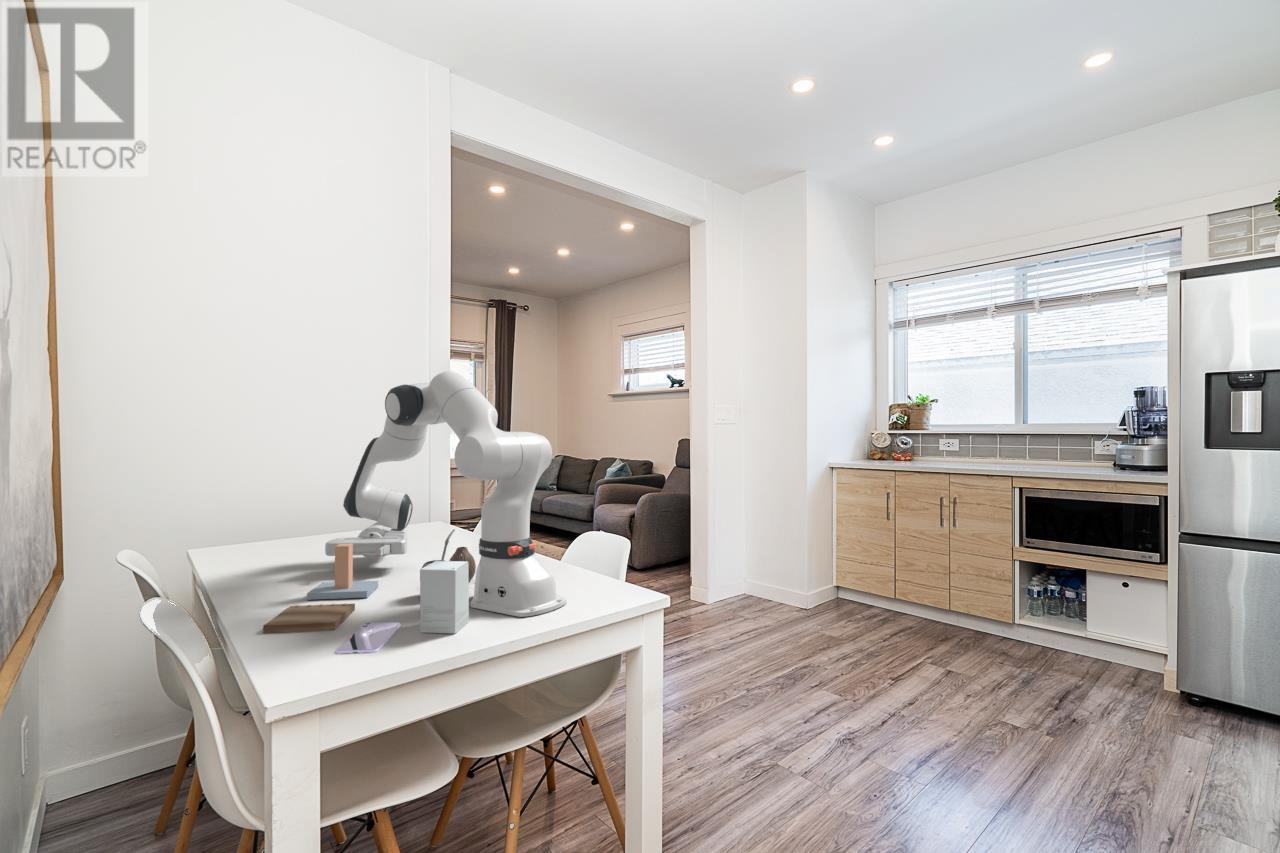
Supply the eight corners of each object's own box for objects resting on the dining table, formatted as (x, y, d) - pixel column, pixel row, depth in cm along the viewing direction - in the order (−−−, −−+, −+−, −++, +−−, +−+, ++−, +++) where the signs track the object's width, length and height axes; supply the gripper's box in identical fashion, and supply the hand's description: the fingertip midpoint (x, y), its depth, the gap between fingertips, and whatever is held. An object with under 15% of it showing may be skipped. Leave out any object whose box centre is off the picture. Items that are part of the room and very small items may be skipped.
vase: (481, 580, 152) (481, 546, 152) (460, 586, 146) (460, 551, 146) (463, 576, 155) (463, 543, 155) (441, 582, 150) (442, 548, 150)
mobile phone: (333, 650, 103) (363, 621, 118) (333, 656, 103) (363, 626, 118) (377, 649, 104) (402, 620, 119) (377, 654, 104) (402, 625, 119)
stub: (367, 597, 136) (367, 548, 136) (307, 599, 134) (307, 549, 134) (378, 586, 145) (378, 540, 145) (322, 588, 143) (322, 541, 143)
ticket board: (334, 629, 115) (334, 621, 115) (263, 633, 113) (263, 624, 113) (354, 610, 127) (354, 602, 127) (290, 612, 125) (290, 605, 125)
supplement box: (469, 621, 121) (470, 560, 121) (455, 634, 113) (455, 569, 113) (435, 620, 121) (435, 559, 121) (418, 633, 114) (418, 568, 114)
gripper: (335, 531, 162) (315, 541, 149) (412, 529, 166) (400, 539, 152) (335, 553, 163) (315, 566, 149) (412, 552, 166) (399, 564, 152)
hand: (359, 552), depth 150 cm, fingers open, 8 cm apart
